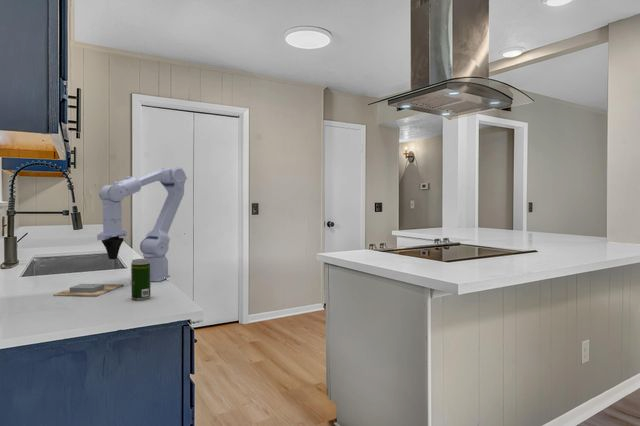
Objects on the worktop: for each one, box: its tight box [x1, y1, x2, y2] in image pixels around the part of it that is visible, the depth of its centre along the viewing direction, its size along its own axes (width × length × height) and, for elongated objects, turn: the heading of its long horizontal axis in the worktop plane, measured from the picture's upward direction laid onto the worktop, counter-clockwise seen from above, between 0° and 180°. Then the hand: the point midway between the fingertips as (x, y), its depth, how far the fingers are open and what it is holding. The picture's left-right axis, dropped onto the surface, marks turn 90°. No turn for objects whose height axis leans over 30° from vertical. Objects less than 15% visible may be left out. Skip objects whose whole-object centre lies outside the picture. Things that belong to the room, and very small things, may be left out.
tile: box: [69, 283, 105, 293], centre depth 133 cm, size 2×8×6 cm
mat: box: [52, 283, 124, 298], centre depth 135 cm, size 16×14×1 cm
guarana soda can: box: [130, 258, 151, 301], centre depth 125 cm, size 5×5×12 cm
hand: (112, 259), depth 139 cm, fingers closed
